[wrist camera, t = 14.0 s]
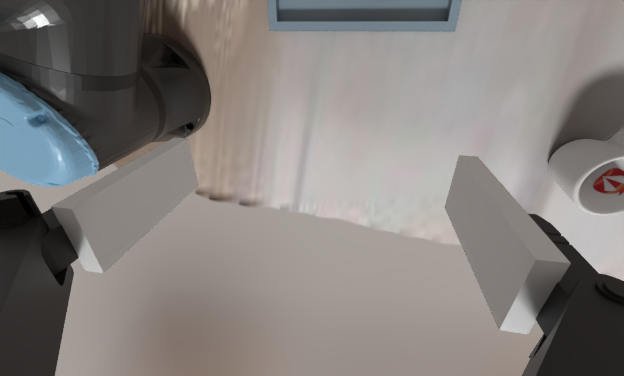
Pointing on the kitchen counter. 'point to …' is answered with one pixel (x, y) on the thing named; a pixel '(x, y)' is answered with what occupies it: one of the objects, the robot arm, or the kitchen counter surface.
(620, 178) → the cup
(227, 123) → the kitchen counter surface
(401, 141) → the kitchen counter surface
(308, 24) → the tray
